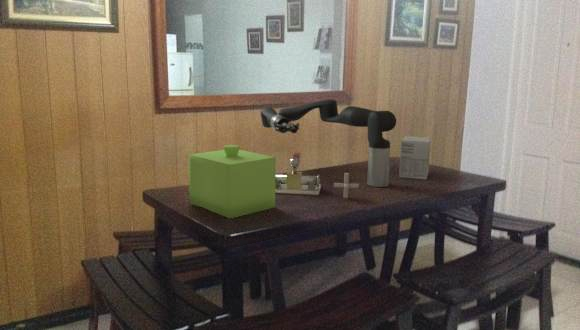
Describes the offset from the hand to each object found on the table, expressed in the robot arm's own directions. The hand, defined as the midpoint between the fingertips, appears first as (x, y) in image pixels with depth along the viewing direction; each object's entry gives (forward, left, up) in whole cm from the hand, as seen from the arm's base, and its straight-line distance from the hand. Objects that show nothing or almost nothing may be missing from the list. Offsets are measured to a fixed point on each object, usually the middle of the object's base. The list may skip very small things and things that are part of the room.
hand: (295, 130), depth 232 cm
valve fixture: (-2, +21, -23) cm, 31 cm away
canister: (+18, +49, -23) cm, 57 cm away
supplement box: (-57, -19, -23) cm, 64 cm away
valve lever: (-2, +16, -13) cm, 20 cm away
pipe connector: (-24, +29, -23) cm, 44 cm away
